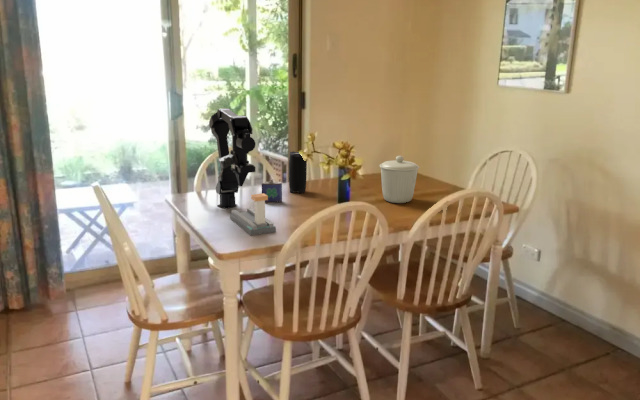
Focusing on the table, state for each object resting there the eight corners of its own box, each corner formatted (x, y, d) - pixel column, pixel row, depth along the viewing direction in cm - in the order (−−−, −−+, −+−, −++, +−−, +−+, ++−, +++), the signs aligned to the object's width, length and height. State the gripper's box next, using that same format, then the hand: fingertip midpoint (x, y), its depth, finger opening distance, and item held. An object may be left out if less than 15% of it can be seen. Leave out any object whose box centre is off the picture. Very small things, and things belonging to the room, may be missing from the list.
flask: (282, 201, 248) (281, 178, 245) (282, 202, 245) (282, 179, 242) (261, 201, 247) (261, 178, 244) (261, 203, 244) (261, 179, 241)
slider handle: (251, 224, 205) (250, 194, 202) (263, 222, 208) (263, 193, 205) (256, 228, 201) (255, 197, 198) (268, 226, 203) (268, 196, 200)
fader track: (229, 218, 220) (229, 210, 219) (252, 215, 225) (252, 207, 224) (250, 235, 200) (250, 226, 199) (275, 231, 204) (275, 223, 203)
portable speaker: (306, 189, 269) (306, 150, 264) (306, 194, 260) (306, 154, 255) (289, 189, 269) (289, 150, 264) (288, 194, 260) (288, 153, 255)
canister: (416, 207, 241) (419, 160, 235) (376, 204, 244) (377, 158, 239) (417, 197, 258) (420, 153, 252) (379, 194, 261) (381, 151, 256)
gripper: (212, 146, 219) (214, 183, 223) (227, 152, 204) (229, 193, 207) (239, 144, 225) (240, 181, 228) (255, 150, 209) (256, 190, 213)
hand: (240, 186), depth 219 cm, fingers closed
